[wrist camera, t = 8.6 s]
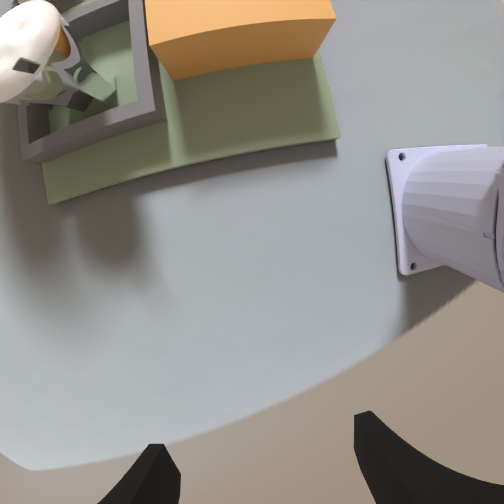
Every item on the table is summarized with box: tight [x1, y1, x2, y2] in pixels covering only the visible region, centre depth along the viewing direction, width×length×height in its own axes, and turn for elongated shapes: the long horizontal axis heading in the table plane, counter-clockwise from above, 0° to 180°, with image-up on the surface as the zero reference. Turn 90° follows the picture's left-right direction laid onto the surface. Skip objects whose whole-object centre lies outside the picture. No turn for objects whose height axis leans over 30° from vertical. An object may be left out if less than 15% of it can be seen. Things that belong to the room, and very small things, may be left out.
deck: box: [17, 0, 340, 205], centre depth 13 cm, size 18×14×6 cm
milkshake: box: [0, 0, 116, 116], centre depth 10 cm, size 4×5×10 cm
